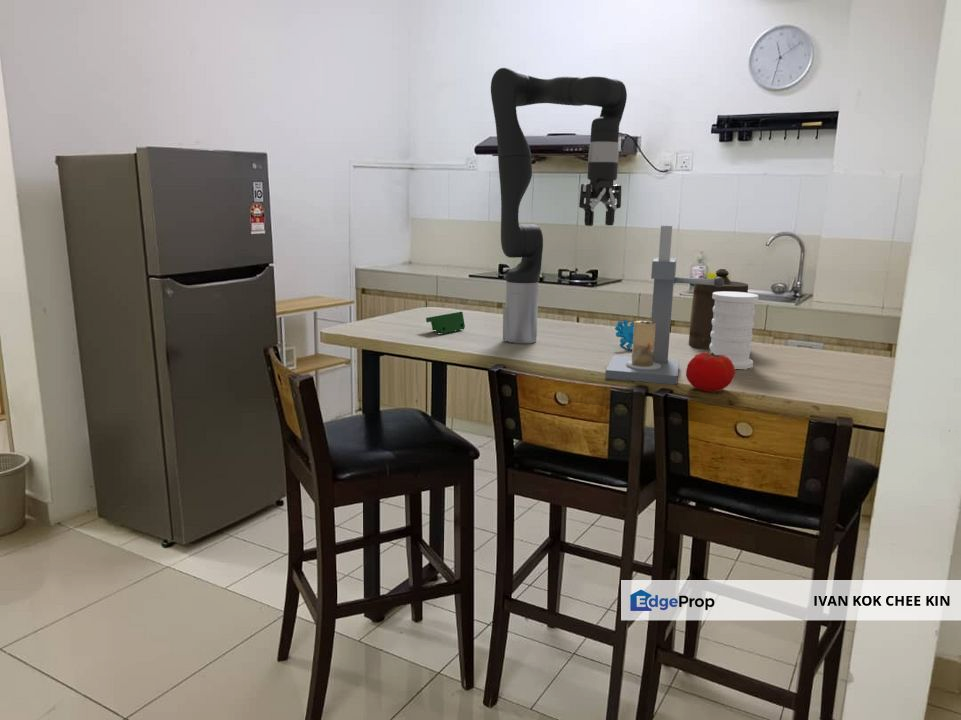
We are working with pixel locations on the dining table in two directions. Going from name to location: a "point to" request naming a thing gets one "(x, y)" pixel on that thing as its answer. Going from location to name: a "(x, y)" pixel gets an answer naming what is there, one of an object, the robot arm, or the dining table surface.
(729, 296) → the decorative container
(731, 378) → the tomato
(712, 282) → the press
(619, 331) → the gear
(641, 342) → the disc
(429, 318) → the dark green angular piece
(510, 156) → the robot arm
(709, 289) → the wooden container
